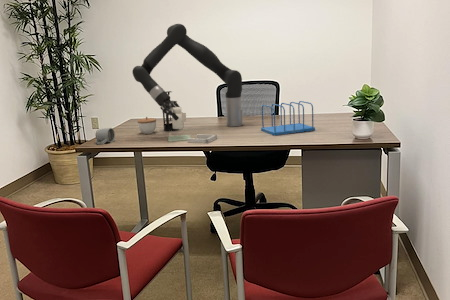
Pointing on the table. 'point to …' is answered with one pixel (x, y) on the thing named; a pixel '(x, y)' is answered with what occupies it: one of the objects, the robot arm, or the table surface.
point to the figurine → (182, 117)
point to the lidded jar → (147, 125)
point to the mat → (178, 138)
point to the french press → (168, 125)
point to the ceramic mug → (104, 135)
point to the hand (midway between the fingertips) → (180, 118)
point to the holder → (205, 137)
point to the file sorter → (290, 127)
